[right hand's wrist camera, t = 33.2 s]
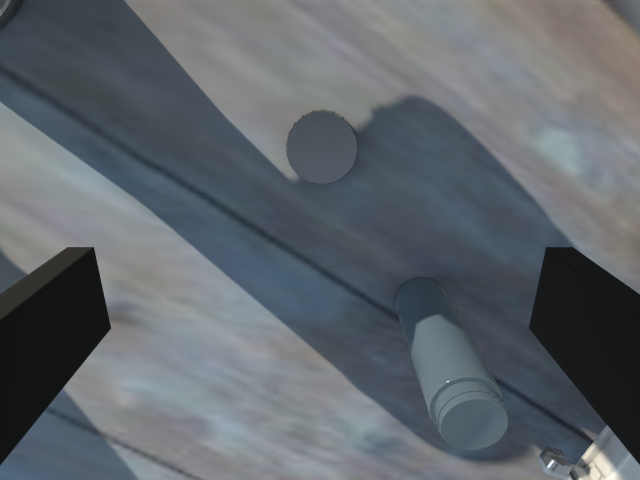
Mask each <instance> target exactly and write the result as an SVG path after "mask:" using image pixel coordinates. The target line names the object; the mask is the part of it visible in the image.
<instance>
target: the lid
mask: <svg viewBox="0 0 640 480" xmlns="http://www.w3.org/2000/svg"><path fill="white" fill-rule="evenodd" d="M351 127H352V126H351V125H350V124H348V122H347V121H346V120H345V119H344V117H343V116H342V117H341V116H339V115H338V114H336V113H334V112H330V111H324V110H320V111H314V112H313V111H312V112H310V113H308V114H306V115H302V117H301V118H300V119H299V120H298V121H297V122H295V123H294V126H293V128H292V129H291V131H289V136H288V140H287V143H286V151H287V157H288V160H289V163H290V165H291V167H292V168H293V170H294V171H295V172H296V173H297V174H298V175H299V176H300V177H301V178H303V179H305V180H307V181H309V182H312V183H316V184H328V183H332V182H335V181H337V180H339V179H341V178H342V177H343V176H345V175H346V174H347V173H348V172H349V171H350V169H351V168H352V166H353V164H354V162H355V159H356V156H357V148H358V146H357V141H356V135H355V134H354V132H353V130H352V128H351Z"/></svg>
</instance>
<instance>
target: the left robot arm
mask: <svg viewBox="0 0 640 480" xmlns="http://www.w3.org/2000/svg"><path fill="white" fill-rule="evenodd" d="M537 461H538V463H539V464H540V466H541V468H542V470H543V471H544V472H545V473H546V474H547V475H549V476H552V477H556V478H559V479H562V480H640V465H639V464H638V462H637V461H636V460H635V459H634V457H633V456H632V455H631V454H630V453H629V451H628V450H627V449H626V448H625V446H624V445H623V444H622V443H621V441H620V440H619V439H618V438H617V436H616V435H615V434H614V433H613V432H612V430H611V429H610V428H609V427H608V425H606V427H605V428H604V429H603V430H602V432H601V433H600V434H599V435H598V437H597V438H596V439H595V441H594V442H593V443H592V444H591V446H590V447H589V448H588V449H587V451H586V452H585V453H584V455H583V456H582V457H581V458H580V460H579V461H578V462H577V463H576V465H574V464H570V463H569V462H568V461H566V458H565V456H564V454H563V453H562V451H561V450H558V449H551V448H550V447H546V448H545V449H544V450H543V452H542V453H541V454H540V456H539V457H538V458H537Z"/></svg>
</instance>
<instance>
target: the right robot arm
mask: <svg viewBox="0 0 640 480" xmlns="http://www.w3.org/2000/svg"><path fill="white" fill-rule="evenodd" d="M22 1H23V0H0V28H2V27H3V26H4V25H5V24H6V23H7V22H8V21H9V20H10V19H11V18H12V17H13V16H14V14H15V13H16V11H17V10H18V8H19V7H20V5H21V3H22ZM110 329H111V326H110V321H109V317H108V312H107V307H106V302H105V298H104V293H103V288H102V284H101V279H100V274H99V269H98V265H97V260H96V255H95V251H94V247H67V248H66V249H64V250H63V251H61V252H60V253H59V254H57V255H56V256H54V257H53V258H51V259H50V260H49V261H47V262H46V263H44V264H43V265H41V266H40V267H39V268H37V269H36V270H34V271H33V272H32V273H30V274H29V275H27V276H26V277H24V278H23V279H22V280H20V281H19V282H17V283H16V284H14V285H13V286H12V287H10V288H9V289H7V290H6V291H4V292H3V293H2V294H0V465H1V464H2V462H3V461H4V460H5V459H6V457H7V456H8V455H9V454H10V453H11V451H12V450H13V449H14V448H15V446H16V445H17V444H18V443H19V441H20V440H21V439H22V438H23V436H24V435H25V434H26V433H27V432H28V430H29V429H30V428H31V427H32V425H33V424H34V423H35V422H36V420H37V419H38V418H39V417H40V415H41V414H42V413H43V412H44V411H45V409H46V408H47V407H48V406H49V404H50V403H51V402H52V401H53V399H54V398H55V397H56V396H57V394H58V393H59V392H60V391H61V390H62V388H63V387H64V386H65V385H66V383H67V382H68V381H69V380H70V378H71V377H72V376H73V375H74V373H75V372H76V371H77V370H78V369H79V367H80V366H81V365H82V364H83V362H84V361H85V360H86V359H87V357H88V356H89V355H90V354H91V352H92V351H93V350H94V349H95V347H96V346H97V345H98V344H99V343H100V341H101V340H102V339H103V338H104V336H105V335H106V334H107V333H108V331H109V330H110ZM529 329H530V330H531V331H532V333H533V334H534V335H535V336H536V338H537V339H538V340H539V341H540V343H541V344H542V345H543V346H544V347H545V349H546V350H547V351H548V352H549V354H550V355H551V356H552V357H553V359H554V360H555V361H556V362H557V364H558V365H559V366H560V367H561V369H562V370H563V371H564V372H565V373H566V375H567V376H568V377H569V378H570V380H571V381H572V382H573V383H574V385H575V386H576V387H577V388H578V390H579V391H580V392H581V393H582V394H583V396H584V397H585V398H586V399H587V401H588V402H589V403H590V404H591V406H592V407H593V408H594V409H595V411H596V412H597V413H598V414H599V415H600V417H601V418H602V419H603V420H604V422H605V423H606V424H607V425H608V427H609V428H610V429H611V430H612V432H613V433H614V434H615V435H616V436H617V438H618V439H619V440H620V441H621V443H622V444H623V445H624V446H625V448H626V449H627V450H628V451H629V453H630V454H631V455H632V456H633V457H634V459H635V460H636V461H637V462H638V464H639V465H640V294H638V293H637V292H636V291H634V290H633V289H631V288H630V287H628V286H627V285H626V284H624V283H623V282H621V281H620V280H618V279H617V278H616V277H614V276H613V275H611V274H610V273H608V272H607V271H606V270H604V269H603V268H601V267H600V266H599V265H597V264H596V263H594V262H593V261H591V260H590V259H589V258H587V257H586V256H584V255H583V254H581V253H580V252H579V251H577V250H576V249H574V248H573V247H546V251H545V255H544V260H543V265H542V269H541V274H540V279H539V284H538V288H537V293H536V298H535V302H534V307H533V312H532V317H531V321H530V326H529Z"/></svg>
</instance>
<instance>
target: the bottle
mask: <svg viewBox="0 0 640 480" xmlns="http://www.w3.org/2000/svg"><path fill="white" fill-rule="evenodd" d="M395 308H396V311H397V315H398V318H399V321H400V324H401V327H402V330H403V333H404V337H405V340H406V343H407V346H408V349H409V352H410V356H411V359H412V362H413V365H414V368H415V371H416V375H417V378H418V381H419V384H420V387H421V390H422V393H423V397H424V400H425V403H426V406H427V409H428V412H429V415H430V418H431V420H432V421H433V423H434V424H435V425H436V426H437V428H438V431H439V433H440V434H441V436H442V437H443V438H444V440H445V441H446V442H447V443H448V444H450V445H451V446H453V447H455V448H458V449H462V450H478V449H482V448H485V447H488V446H490V445H492V444H494V443H495V442H496V441H498V440H499V439H500V438H501V437H502V436H503V434H504V433H505V431H506V429H507V426H508V422H509V414H508V411H507V409H506V407H505V405H504V403H503V402H504V401H503V395H502V392H501V390H500V388H499V386H498V385H497V383H496V381H495V379H494V378H493V376H492V374H491V372H490V370H489V369H488V367H487V365H486V363H485V362H484V360H483V358H482V356H481V355H480V353H479V351H478V349H477V347H476V346H475V344H474V342H473V340H472V339H471V337H470V335H469V333H468V331H467V330H466V328H465V326H464V324H463V323H462V321H461V319H460V317H459V316H458V314H457V312H456V310H455V308H454V307H453V305H452V303H451V301H450V300H449V298H448V296H447V294H446V292H445V291H444V289H443V287H442V286H441V285H440V284H439V283H438V282H436V281H434V280H432V279H428V278H417V279H413V280H410V281H408V282H407V283H405V284H404V285H403V286H402V287H401V288H400V289H399V290H398V292H397V294H396V296H395Z"/></svg>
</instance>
